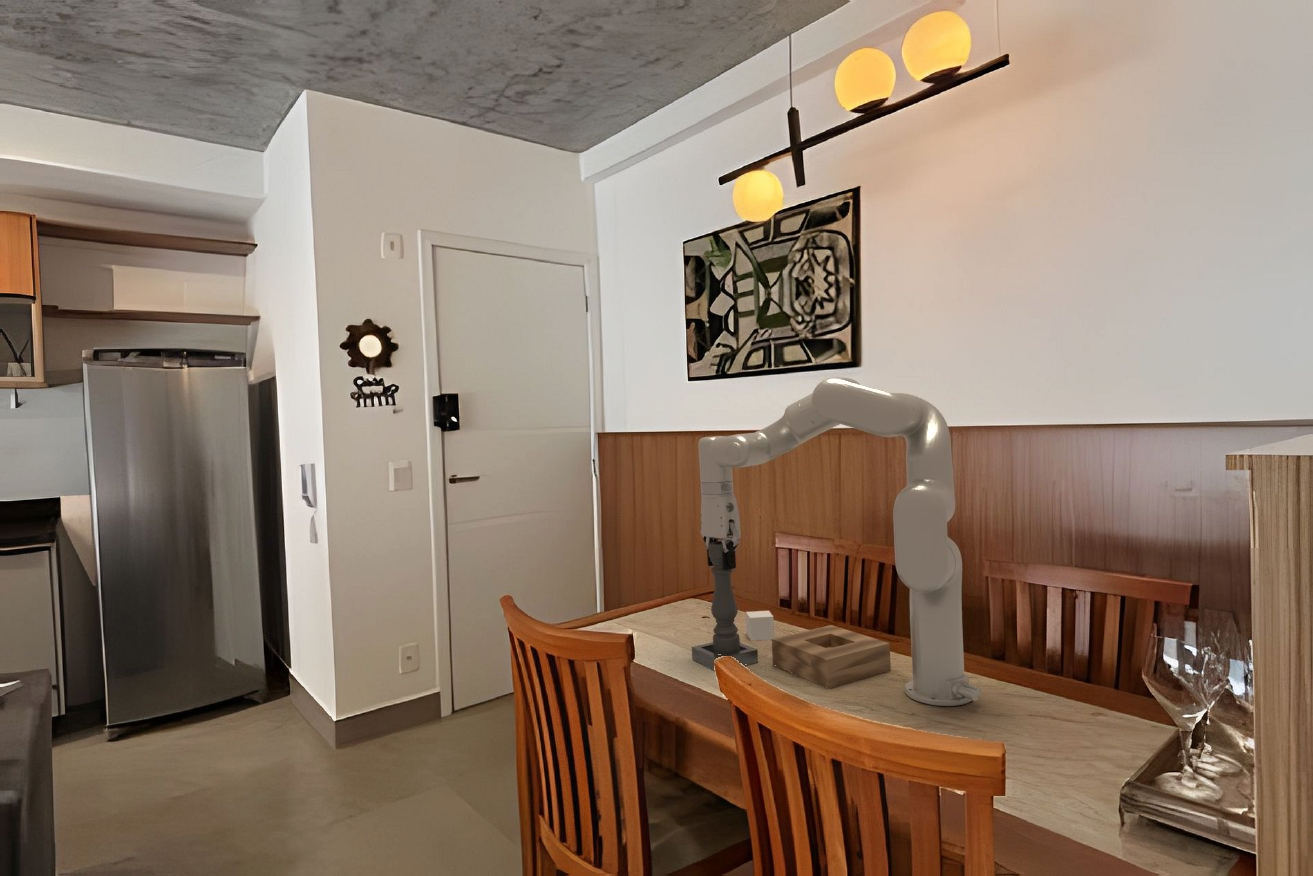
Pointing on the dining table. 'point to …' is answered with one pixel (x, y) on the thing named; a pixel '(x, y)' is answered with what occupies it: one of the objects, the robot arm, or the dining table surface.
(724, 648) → the candle holder
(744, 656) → the metal collar
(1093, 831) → the dining table surface
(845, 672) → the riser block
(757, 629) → the white cube
